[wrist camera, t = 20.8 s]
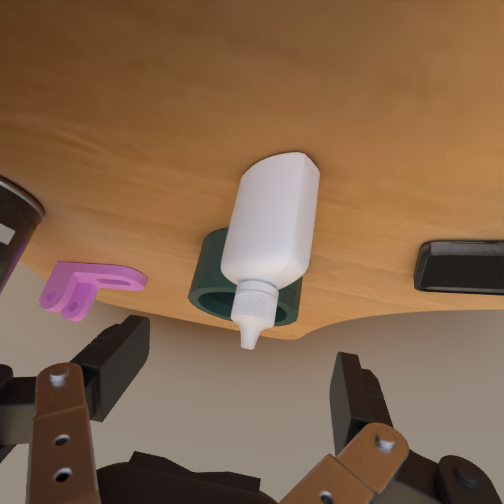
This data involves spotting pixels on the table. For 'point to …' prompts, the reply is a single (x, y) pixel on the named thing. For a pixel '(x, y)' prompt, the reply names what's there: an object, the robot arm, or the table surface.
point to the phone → (461, 268)
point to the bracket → (85, 286)
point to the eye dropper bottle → (269, 237)
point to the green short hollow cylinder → (232, 285)
